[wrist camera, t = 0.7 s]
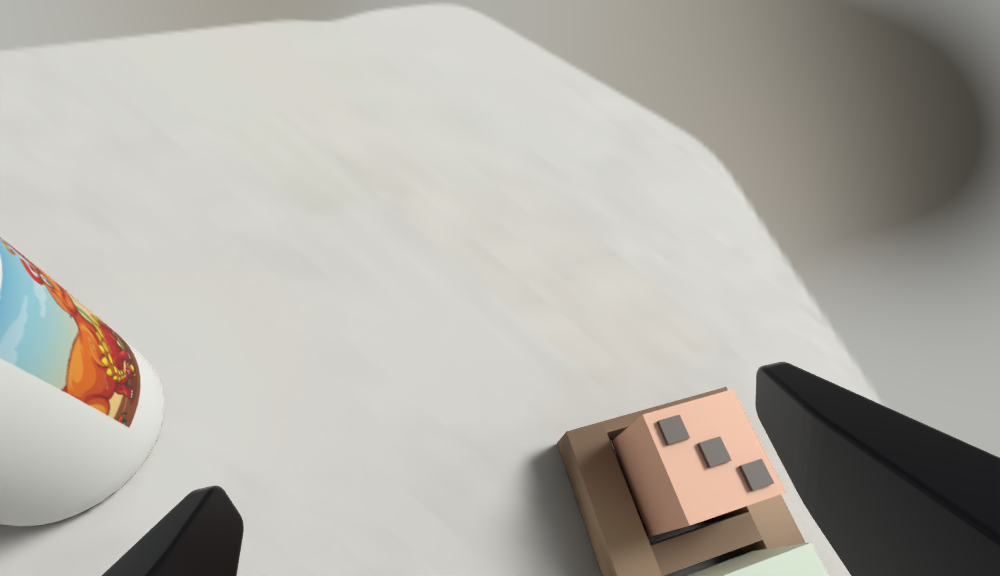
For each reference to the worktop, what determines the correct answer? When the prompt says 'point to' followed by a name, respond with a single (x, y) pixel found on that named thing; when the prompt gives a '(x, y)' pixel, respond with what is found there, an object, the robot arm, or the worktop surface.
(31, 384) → the milk bottle
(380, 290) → the worktop surface
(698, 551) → the board
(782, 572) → the key two
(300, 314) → the worktop surface
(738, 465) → the key three
